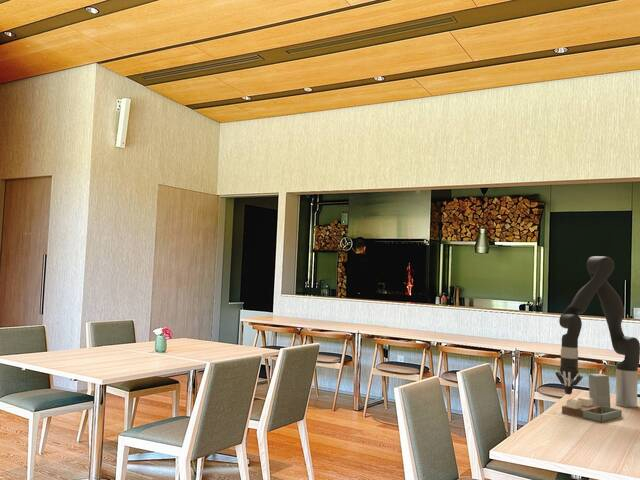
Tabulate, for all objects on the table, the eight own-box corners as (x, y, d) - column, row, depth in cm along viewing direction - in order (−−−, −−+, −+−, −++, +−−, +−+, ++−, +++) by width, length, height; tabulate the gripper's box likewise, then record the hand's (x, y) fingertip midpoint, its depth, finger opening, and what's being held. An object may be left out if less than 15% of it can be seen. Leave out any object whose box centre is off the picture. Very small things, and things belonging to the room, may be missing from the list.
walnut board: (580, 409, 277) (580, 402, 277) (601, 413, 270) (601, 406, 270) (561, 413, 267) (561, 406, 268) (583, 417, 260) (583, 410, 260)
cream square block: (571, 405, 269) (571, 399, 270) (581, 407, 266) (581, 401, 266) (566, 406, 267) (566, 400, 267) (576, 409, 263) (576, 402, 263)
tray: (603, 413, 270) (603, 406, 270) (621, 417, 263) (621, 410, 264) (582, 418, 259) (583, 410, 259) (601, 422, 252) (601, 414, 252)
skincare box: (610, 410, 276) (611, 376, 277) (595, 410, 276) (595, 375, 277) (602, 406, 285) (603, 373, 285) (587, 406, 285) (588, 372, 286)
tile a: (582, 403, 276) (583, 396, 276) (592, 405, 272) (592, 398, 272) (577, 404, 273) (578, 397, 273) (587, 406, 269) (587, 399, 269)
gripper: (587, 358, 277) (586, 396, 276) (560, 354, 287) (559, 391, 286) (578, 359, 272) (577, 397, 271) (551, 355, 283) (550, 392, 282)
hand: (568, 394), depth 279 cm, fingers closed
